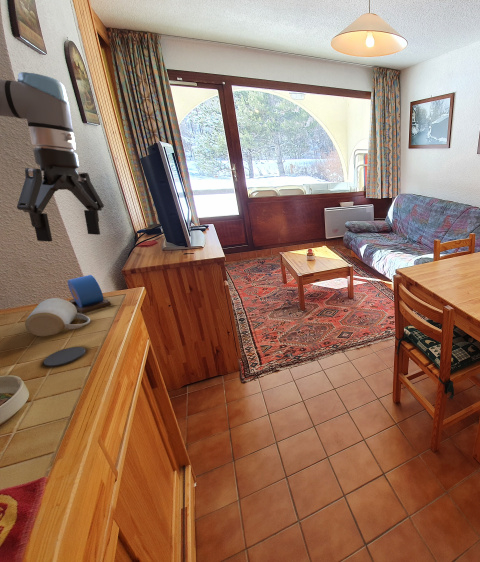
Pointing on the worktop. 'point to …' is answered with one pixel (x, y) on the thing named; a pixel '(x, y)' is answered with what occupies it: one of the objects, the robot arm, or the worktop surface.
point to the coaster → (64, 356)
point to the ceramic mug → (53, 317)
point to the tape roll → (85, 290)
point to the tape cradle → (91, 305)
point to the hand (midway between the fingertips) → (71, 237)
